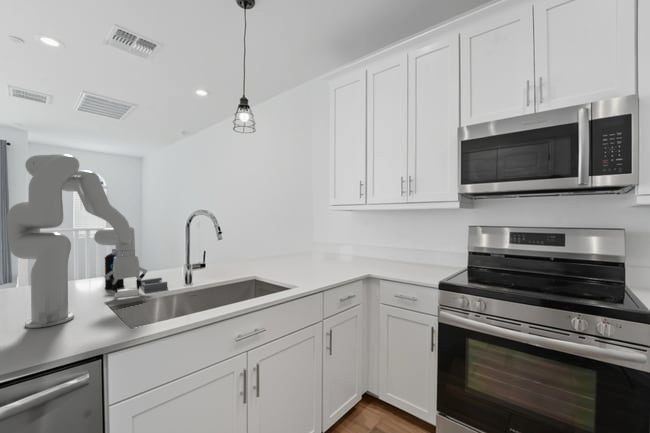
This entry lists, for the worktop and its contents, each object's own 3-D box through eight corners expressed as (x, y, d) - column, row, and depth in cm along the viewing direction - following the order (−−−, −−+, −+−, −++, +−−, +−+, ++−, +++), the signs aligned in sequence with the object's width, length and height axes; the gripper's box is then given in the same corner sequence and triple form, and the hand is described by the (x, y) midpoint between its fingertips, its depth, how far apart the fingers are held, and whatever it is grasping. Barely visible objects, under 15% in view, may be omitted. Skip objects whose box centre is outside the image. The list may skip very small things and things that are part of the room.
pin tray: (167, 289, 147) (167, 282, 147) (144, 292, 140) (144, 285, 140) (160, 283, 159) (160, 277, 159) (139, 286, 152) (139, 279, 152)
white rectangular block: (116, 295, 137) (116, 289, 137) (139, 292, 141) (139, 287, 141) (114, 297, 133) (114, 292, 133) (138, 295, 137) (138, 289, 137)
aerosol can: (100, 289, 148) (100, 249, 147) (116, 285, 155) (116, 247, 155) (112, 290, 145) (112, 250, 145) (128, 286, 153) (127, 248, 153)
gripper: (102, 257, 128) (104, 296, 129) (148, 252, 139) (150, 288, 140) (101, 254, 134) (103, 292, 134) (145, 250, 145) (147, 284, 146)
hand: (127, 290), depth 137 cm, fingers closed on white rectangular block, 8 cm apart
